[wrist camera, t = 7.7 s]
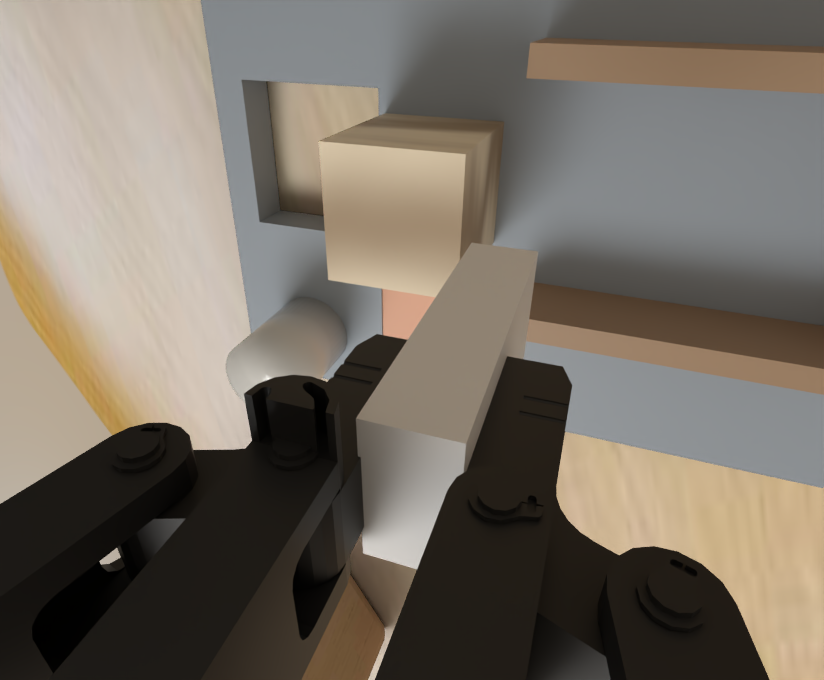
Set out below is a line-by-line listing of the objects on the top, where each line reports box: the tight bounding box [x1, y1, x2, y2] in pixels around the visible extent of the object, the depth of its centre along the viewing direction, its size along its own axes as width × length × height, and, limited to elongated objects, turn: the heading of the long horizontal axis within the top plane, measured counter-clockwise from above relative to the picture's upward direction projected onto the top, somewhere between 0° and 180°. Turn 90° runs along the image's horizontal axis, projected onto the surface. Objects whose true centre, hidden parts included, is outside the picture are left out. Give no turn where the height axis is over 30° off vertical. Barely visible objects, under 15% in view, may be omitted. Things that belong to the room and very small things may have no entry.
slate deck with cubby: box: [201, 0, 824, 488], centre depth 23 cm, size 20×29×6 cm
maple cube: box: [318, 113, 504, 297], centre depth 22 cm, size 5×5×6 cm
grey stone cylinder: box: [226, 297, 347, 402], centre depth 28 cm, size 4×4×5 cm
